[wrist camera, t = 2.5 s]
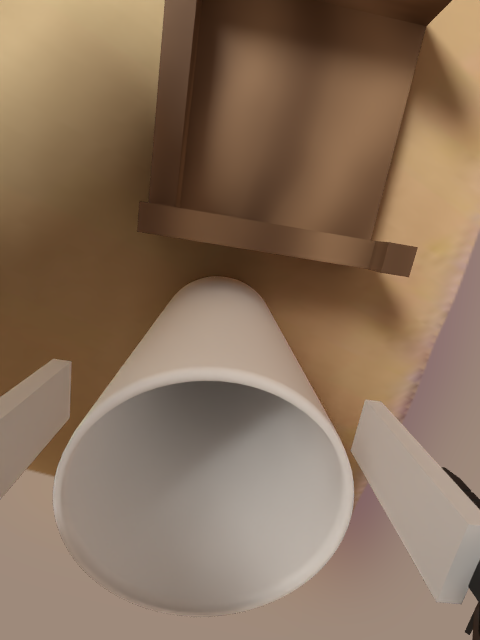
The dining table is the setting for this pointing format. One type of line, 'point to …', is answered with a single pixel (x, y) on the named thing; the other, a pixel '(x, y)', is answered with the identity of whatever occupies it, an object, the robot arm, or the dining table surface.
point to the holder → (283, 124)
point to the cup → (205, 464)
